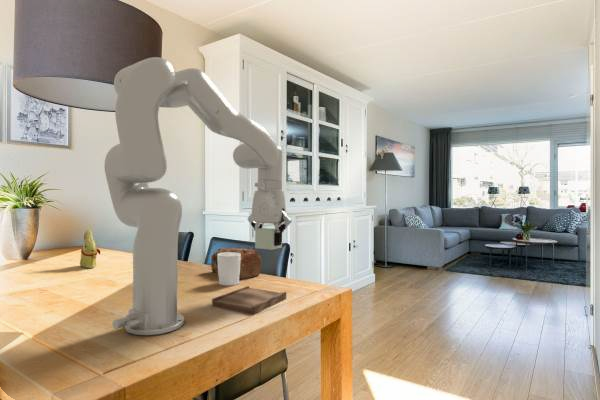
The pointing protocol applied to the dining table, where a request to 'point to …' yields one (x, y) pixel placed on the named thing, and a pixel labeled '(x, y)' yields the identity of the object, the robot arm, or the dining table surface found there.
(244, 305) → the board
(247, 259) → the bread
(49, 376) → the dining table surface
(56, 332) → the dining table surface
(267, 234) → the sage block
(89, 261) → the asparagus bundle
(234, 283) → the white cup
